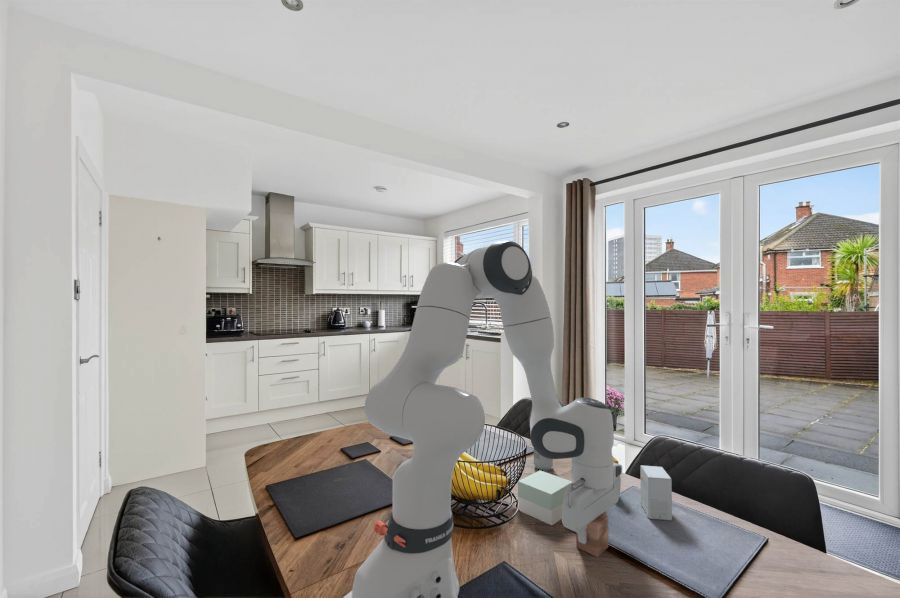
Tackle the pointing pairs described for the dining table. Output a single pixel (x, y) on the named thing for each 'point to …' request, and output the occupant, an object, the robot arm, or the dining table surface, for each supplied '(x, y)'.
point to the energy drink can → (542, 462)
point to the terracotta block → (596, 536)
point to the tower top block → (543, 489)
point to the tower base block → (540, 511)
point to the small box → (656, 492)
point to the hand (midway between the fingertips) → (592, 534)
